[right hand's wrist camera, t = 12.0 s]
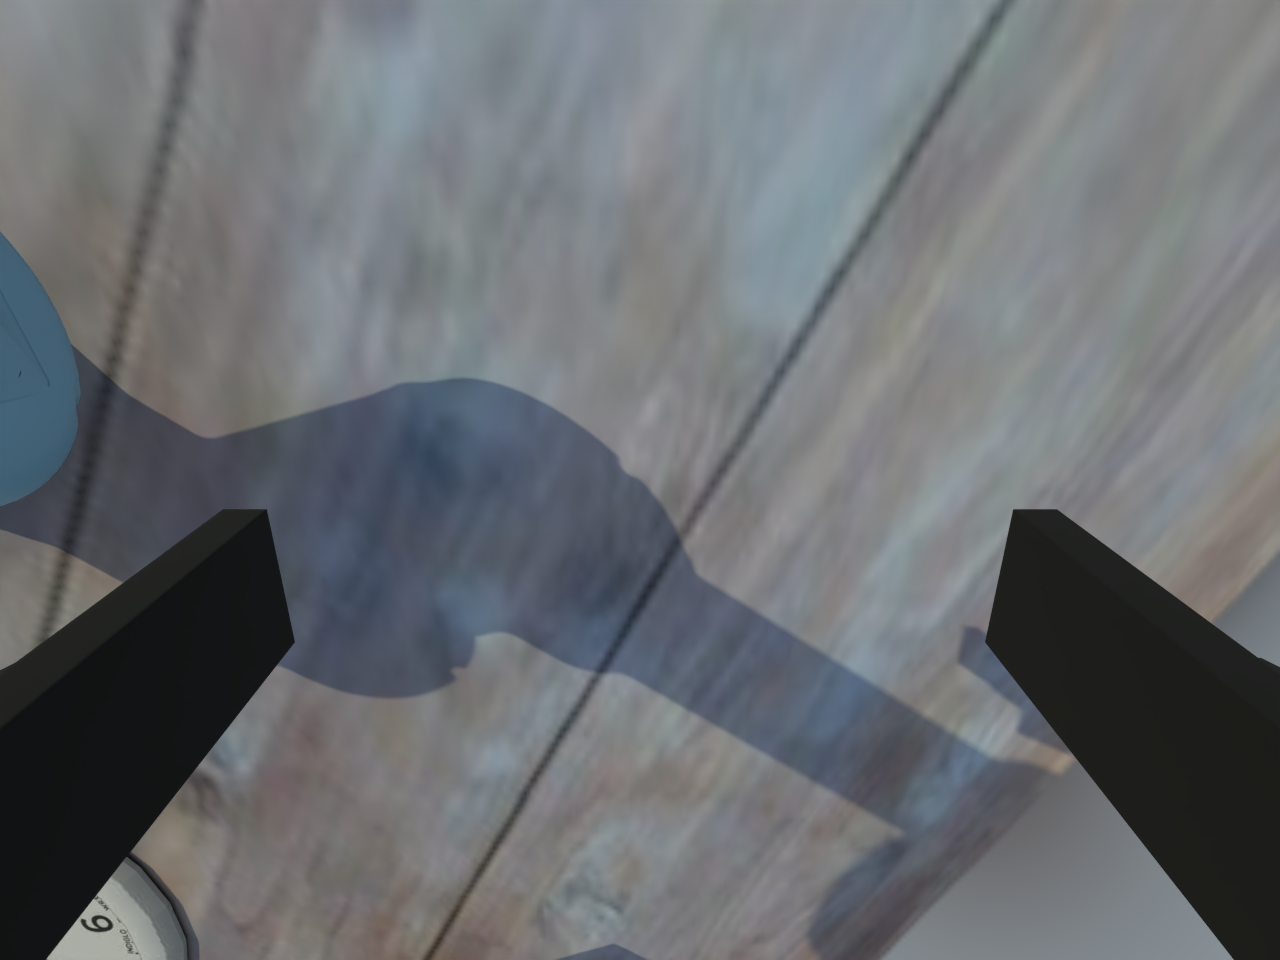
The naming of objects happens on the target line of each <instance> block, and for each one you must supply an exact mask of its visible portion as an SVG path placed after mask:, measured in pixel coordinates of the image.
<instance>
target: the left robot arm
mask: <svg viewBox="0 0 1280 960" xmlns="http://www.w3.org/2000/svg"><path fill="white" fill-rule="evenodd" d="M80 396H81V390H80V380H79V373H78V369H77V365H76V361H75V356H74V352H73V349H72V346H71V343H70V340H69V337H68V335H67V333H66V330H65V328H64V326H63V323H62V321H61V319H60V317H59V315H58V313H57V311H56V309H55V307H54V305H53V303H52V301H51V300H50V298H49V296H48V295H47V293H46V291H45V290H44V288H43V286H42V285H41V283H40V281H39V280H38V278H37V277H36V275H35V274H34V272H33V271H32V270H31V268H30V267H29V265H28V264H27V263H26V262H25V261H24V259H23V258H22V257H21V256H20V254H19V253H18V252H17V251H16V249H15V248H14V247H13V246H12V244H11V243H10V242H9V241H8V240H7V239H6V238H5V236H4V235H3V234H2V233H1V232H0V507H1V506H3V505H6V504H9V503H12V502H14V501H17V500H19V499H21V498H23V497H25V496H27V495H29V494H31V493H32V492H34V491H35V490H37V489H39V488H40V487H41V486H42V485H44V484H45V483H46V482H47V481H48V480H49V479H50V478H51V477H52V476H53V475H54V474H55V473H56V472H57V471H58V470H59V468H60V467H61V466H62V464H63V463H64V461H65V459H66V458H67V456H68V455H69V453H70V450H71V448H72V445H73V443H74V440H75V438H76V435H77V431H78V426H79V423H78V416H77V410H76V405H77V404H78V402H79V400H80Z"/></svg>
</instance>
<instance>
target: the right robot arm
mask: <svg viewBox="0 0 1280 960" xmlns="http://www.w3.org/2000/svg"><path fill="white" fill-rule="evenodd" d="M294 643H295V641H294V636H293V631H292V627H291V622H290V617H289V612H288V608H287V603H286V598H285V594H284V589H283V584H282V579H281V575H280V570H279V565H278V561H277V556H276V551H275V546H274V542H273V537H272V532H271V528H270V523H269V518H268V513H267V509H223V510H222V511H220V512H219V513H218V514H216V515H215V516H214V517H212V518H211V519H209V520H208V521H207V522H205V523H204V524H203V525H201V526H200V527H199V528H197V529H196V530H195V531H193V532H192V533H191V534H189V535H188V536H186V537H185V538H184V539H182V540H181V541H180V542H178V543H177V544H176V545H174V546H173V547H172V548H170V549H169V550H167V551H166V552H165V553H163V554H162V555H161V556H159V557H158V558H157V559H155V560H154V561H153V562H151V563H150V564H149V565H147V566H146V567H144V568H143V569H142V570H140V571H139V572H138V573H136V574H135V575H134V576H132V577H131V578H130V579H128V580H127V581H126V582H124V583H123V584H121V585H120V586H119V587H117V588H116V589H115V590H113V591H112V592H111V593H109V594H108V595H107V596H105V597H104V598H102V599H101V600H100V601H98V602H97V603H96V604H94V605H93V606H92V607H90V608H89V609H88V610H86V611H85V612H84V613H82V614H81V615H79V616H78V617H77V618H75V619H74V620H73V621H71V622H70V623H69V624H67V625H66V626H65V627H63V628H62V629H61V630H59V631H58V632H56V633H55V634H54V635H52V636H51V637H50V638H48V639H47V640H46V641H44V642H43V643H42V644H40V645H39V646H37V647H36V648H35V649H33V650H32V651H31V652H29V653H28V654H27V655H25V656H24V657H23V658H21V659H20V660H19V661H17V662H16V663H14V664H12V665H10V666H8V667H6V668H4V669H2V670H0V960H46V959H47V958H48V956H49V955H50V954H51V953H52V951H53V950H54V949H55V948H56V946H57V945H58V944H59V942H60V941H61V940H62V939H63V937H64V936H65V935H66V934H67V932H68V931H69V930H70V928H71V927H72V926H73V925H74V923H75V922H76V921H77V919H78V918H79V917H80V916H81V914H82V913H83V912H84V911H85V909H86V908H87V907H88V905H89V904H90V903H91V902H92V900H93V899H94V898H95V896H96V895H97V894H98V893H99V891H100V890H101V889H102V888H103V886H104V885H105V884H106V882H107V881H108V880H109V879H110V877H111V876H112V875H113V874H114V872H115V871H116V870H117V868H118V867H119V866H120V865H121V863H122V862H123V861H124V859H125V858H126V857H127V856H128V854H129V853H130V852H131V851H132V849H133V848H134V847H135V845H136V844H137V843H138V842H139V840H140V839H141V838H142V837H143V835H144V834H145V833H146V831H147V830H148V829H149V828H150V826H151V825H152V824H153V822H154V821H155V820H156V819H157V817H158V816H159V815H160V814H161V812H162V811H163V810H164V808H165V807H166V806H167V805H168V803H169V802H170V801H171V800H172V798H173V797H174V796H175V794H176V793H177V792H178V791H179V789H180V788H181V787H182V785H183V784H184V783H185V782H186V780H187V779H188V778H189V777H190V775H191V774H192V773H193V771H194V770H195V769H196V768H197V766H198V765H199V764H200V762H201V761H202V760H203V759H204V757H205V756H206V755H207V754H208V752H209V751H210V750H211V748H212V747H213V746H214V745H215V743H216V742H217V741H218V740H219V738H220V737H221V736H222V734H223V733H224V732H225V731H226V729H227V728H228V727H229V725H230V724H231V723H232V722H233V720H234V719H235V718H236V717H237V715H238V714H239V713H240V711H241V710H242V709H243V708H244V706H245V705H246V704H247V703H248V701H249V700H250V699H251V697H252V696H253V695H254V694H255V692H256V691H257V690H258V688H259V687H260V686H261V685H262V683H263V682H264V681H265V680H266V678H267V677H268V676H269V674H270V673H271V672H272V671H273V669H274V668H275V667H276V665H277V664H278V663H279V662H280V660H281V659H282V658H283V657H284V655H285V654H286V653H287V651H288V650H289V649H290V648H291V646H292V645H293V644H294ZM985 643H986V644H987V645H988V646H989V648H990V649H991V650H992V651H993V653H994V654H995V655H996V657H997V658H998V659H999V660H1000V662H1001V663H1002V664H1003V665H1004V667H1005V668H1006V669H1007V671H1008V672H1009V673H1010V674H1011V676H1012V677H1013V678H1014V680H1015V681H1016V682H1017V683H1018V685H1019V686H1020V687H1021V688H1022V690H1023V691H1024V692H1025V694H1026V695H1027V696H1028V697H1029V699H1030V700H1031V701H1032V703H1033V704H1034V705H1035V706H1036V708H1037V709H1038V710H1039V711H1040V713H1041V714H1042V715H1043V717H1044V718H1045V719H1046V720H1047V722H1048V723H1049V724H1050V725H1051V727H1052V728H1053V729H1054V731H1055V732H1056V733H1057V734H1058V736H1059V737H1060V738H1061V740H1062V741H1063V742H1064V743H1065V745H1066V746H1067V747H1068V748H1069V750H1070V751H1071V752H1072V754H1073V755H1074V756H1075V757H1076V759H1077V760H1078V761H1079V762H1080V764H1081V765H1082V766H1083V768H1084V769H1085V770H1086V771H1087V773H1088V774H1089V775H1090V777H1091V778H1092V779H1093V780H1094V782H1095V783H1096V784H1097V785H1098V787H1099V788H1100V789H1101V791H1102V792H1103V793H1104V794H1105V796H1106V797H1107V798H1108V800H1109V801H1110V802H1111V803H1112V805H1113V806H1114V807H1115V808H1116V810H1117V811H1118V812H1119V814H1120V815H1121V816H1122V817H1123V819H1124V820H1125V821H1126V822H1127V824H1128V825H1129V826H1130V828H1131V829H1132V830H1133V831H1134V833H1135V834H1136V835H1137V837H1138V838H1139V839H1140V840H1141V842H1142V843H1143V844H1144V845H1145V847H1146V848H1147V849H1148V851H1149V852H1150V853H1151V854H1152V856H1153V857H1154V858H1155V859H1156V861H1157V862H1158V863H1159V865H1160V866H1161V867H1162V868H1163V870H1164V871H1165V872H1166V874H1167V875H1168V876H1169V877H1170V879H1171V880H1172V881H1173V882H1174V884H1175V885H1176V886H1177V888H1178V889H1179V890H1180V891H1181V893H1182V894H1183V895H1184V896H1185V898H1186V899H1187V900H1188V902H1189V903H1190V904H1191V905H1192V907H1193V908H1194V909H1195V911H1196V912H1197V913H1198V914H1199V916H1200V917H1201V918H1202V919H1203V921H1204V922H1205V923H1206V925H1207V926H1208V927H1209V928H1210V930H1211V931H1212V932H1213V933H1214V935H1215V936H1216V937H1217V939H1218V940H1219V941H1220V942H1221V944H1222V945H1223V946H1224V948H1225V949H1226V950H1227V951H1228V953H1229V954H1230V955H1231V956H1232V958H1233V959H1234V960H1280V667H1278V666H1276V665H1274V664H1272V663H1270V662H1268V661H1266V660H1264V659H1262V658H1257V657H1256V656H1255V655H1253V654H1252V653H1251V652H1249V651H1248V650H1246V649H1245V648H1244V647H1243V646H1241V645H1240V644H1238V643H1237V642H1236V641H1234V640H1233V639H1232V638H1230V637H1229V636H1228V635H1226V634H1225V633H1224V632H1222V631H1221V630H1219V629H1218V628H1217V627H1215V626H1214V625H1213V624H1211V623H1210V622H1209V621H1207V620H1206V619H1205V618H1203V617H1202V616H1201V615H1199V614H1198V613H1196V612H1195V611H1194V610H1192V609H1191V608H1190V607H1188V606H1187V605H1186V604H1184V603H1183V602H1182V601H1180V600H1179V599H1178V598H1176V597H1175V596H1173V595H1172V594H1171V593H1169V592H1168V591H1167V590H1165V589H1164V588H1163V587H1161V586H1160V585H1159V584H1157V583H1156V582H1154V581H1153V580H1152V579H1150V578H1149V577H1148V576H1146V575H1145V574H1144V573H1142V572H1141V571H1140V570H1138V569H1137V568H1136V567H1134V566H1133V565H1131V564H1130V563H1129V562H1127V561H1126V560H1125V559H1123V558H1122V557H1121V556H1119V555H1118V554H1117V553H1115V552H1114V551H1113V550H1111V549H1110V548H1108V547H1107V546H1106V545H1104V544H1103V543H1102V542H1100V541H1099V540H1098V539H1096V538H1095V537H1094V536H1092V535H1091V534H1089V533H1088V532H1087V531H1085V530H1084V529H1083V528H1081V527H1080V526H1079V525H1077V524H1076V523H1075V522H1073V521H1072V520H1071V519H1069V518H1068V517H1066V516H1065V515H1064V514H1062V513H1061V512H1060V511H1058V510H1057V509H1013V513H1012V518H1011V523H1010V528H1009V532H1008V537H1007V542H1006V546H1005V551H1004V556H1003V561H1002V565H1001V570H1000V575H999V579H998V584H997V589H996V594H995V598H994V603H993V608H992V612H991V617H990V622H989V627H988V631H987V636H986V641H985Z"/></svg>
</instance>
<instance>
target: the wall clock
mask: <svg viewBox="0 0 1280 960" xmlns="http://www.w3.org/2000/svg"><path fill="white" fill-rule="evenodd" d="M46 960H187V944H186V938H185V935H184V933H183V931H182V929H181V926H180V924H179V922H178V920H177V917H176V915H175V913H174V911H173V909H172V906H171V904H170V902H169V901H168V900H167V899H166V898H165V896H164V895H163V894H162V893H161V892H160V890H159V889H158V888H157V887H156V886H155V884H154V883H153V882H152V881H151V880H150V878H149V877H148V876H147V875H146V874H145V872H144V871H143V870H142V869H141V868H140V867H139V866H138V865H137V864H135V863H134V862H133V861H131V860H130V859H129V858H128V857H126V858H125V859H124V861H123V862H122V863H121V865H120V866H119V867H118V868H117V870H116V871H115V872H114V874H113V875H112V876H111V877H110V879H109V880H108V881H107V882H106V884H105V885H104V886H103V888H102V889H101V890H100V891H99V893H98V894H97V895H96V896H95V898H94V899H93V900H92V902H91V903H90V904H89V905H88V907H87V908H86V909H85V911H84V912H83V913H82V914H81V916H80V917H79V918H78V919H77V921H76V922H75V923H74V925H73V926H72V927H71V928H70V930H69V931H68V932H67V934H66V935H65V936H64V937H63V939H62V940H61V941H60V942H59V944H58V945H57V946H56V948H55V949H54V950H53V951H52V953H51V954H50V955H49V956H48V958H47V959H46Z"/></svg>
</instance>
